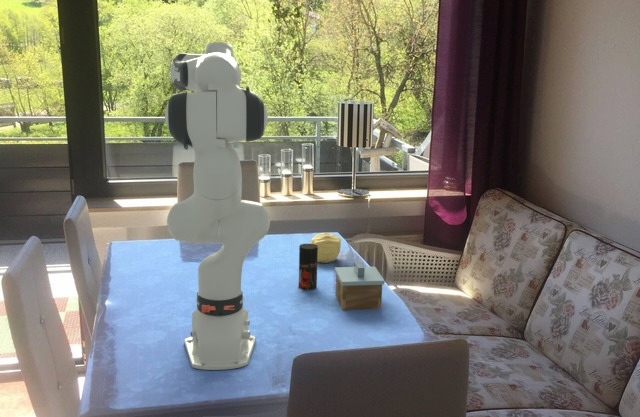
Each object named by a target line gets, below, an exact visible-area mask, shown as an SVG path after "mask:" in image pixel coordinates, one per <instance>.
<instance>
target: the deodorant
mask: <svg viewBox="0 0 640 417" xmlns="http://www.w3.org/2000/svg"><path fill="white" fill-rule="evenodd" d="M298 249H299V250H298V251H299V252H298V253H299V254H298V256H299V257H298V289H300V290H303V291H313V290H316V289H317V287H318V286H317V285H318V284H317V283H318V262H317V256H318V246H317V245H315V244H310V243H302V244H299V248H298Z"/></svg>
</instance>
